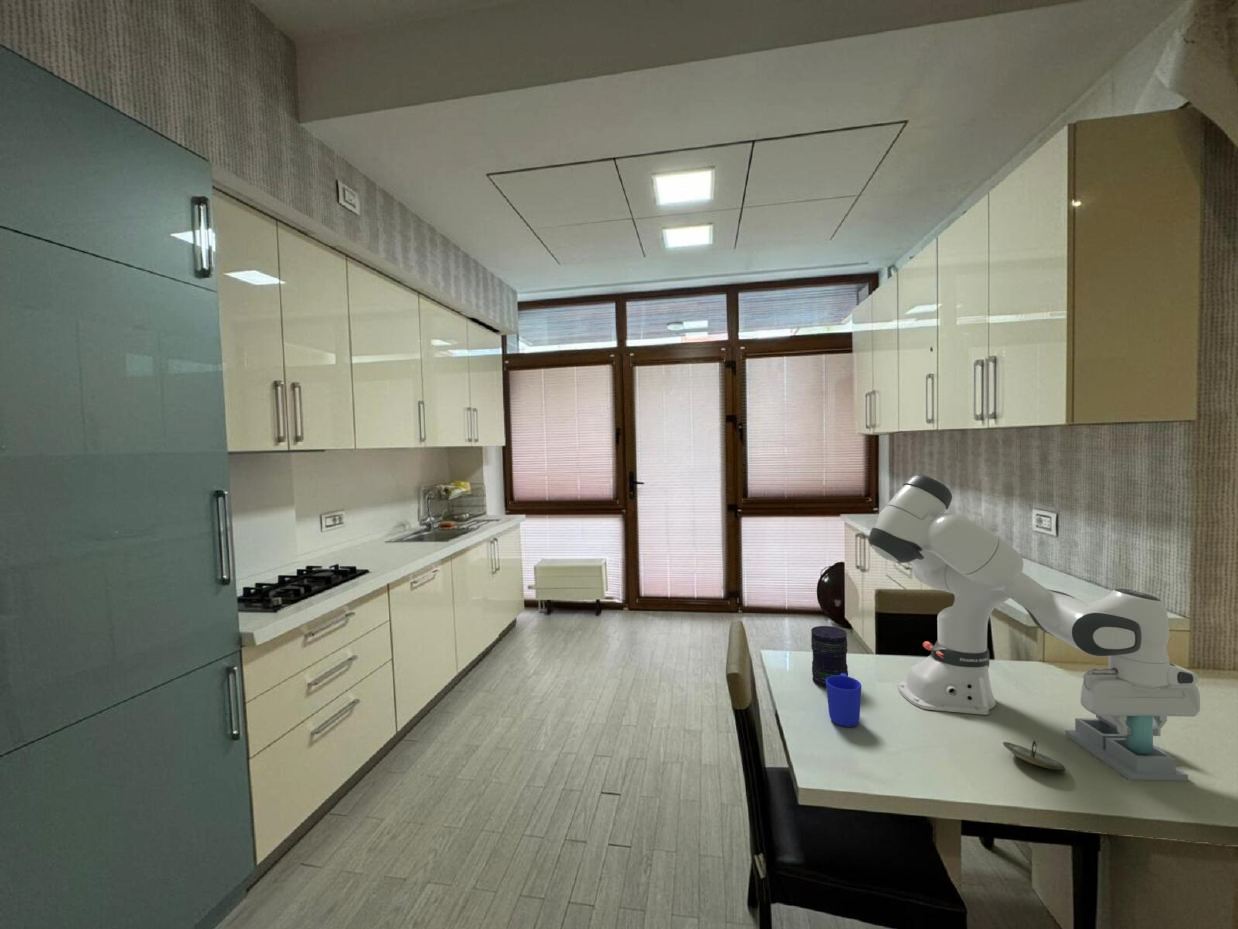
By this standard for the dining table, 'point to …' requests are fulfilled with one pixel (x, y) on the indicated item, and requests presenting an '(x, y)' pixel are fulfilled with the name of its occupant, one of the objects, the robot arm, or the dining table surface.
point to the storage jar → (828, 653)
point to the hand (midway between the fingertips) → (1138, 734)
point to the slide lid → (1108, 720)
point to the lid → (1033, 756)
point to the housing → (1123, 752)
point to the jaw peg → (1140, 734)
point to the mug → (843, 699)
